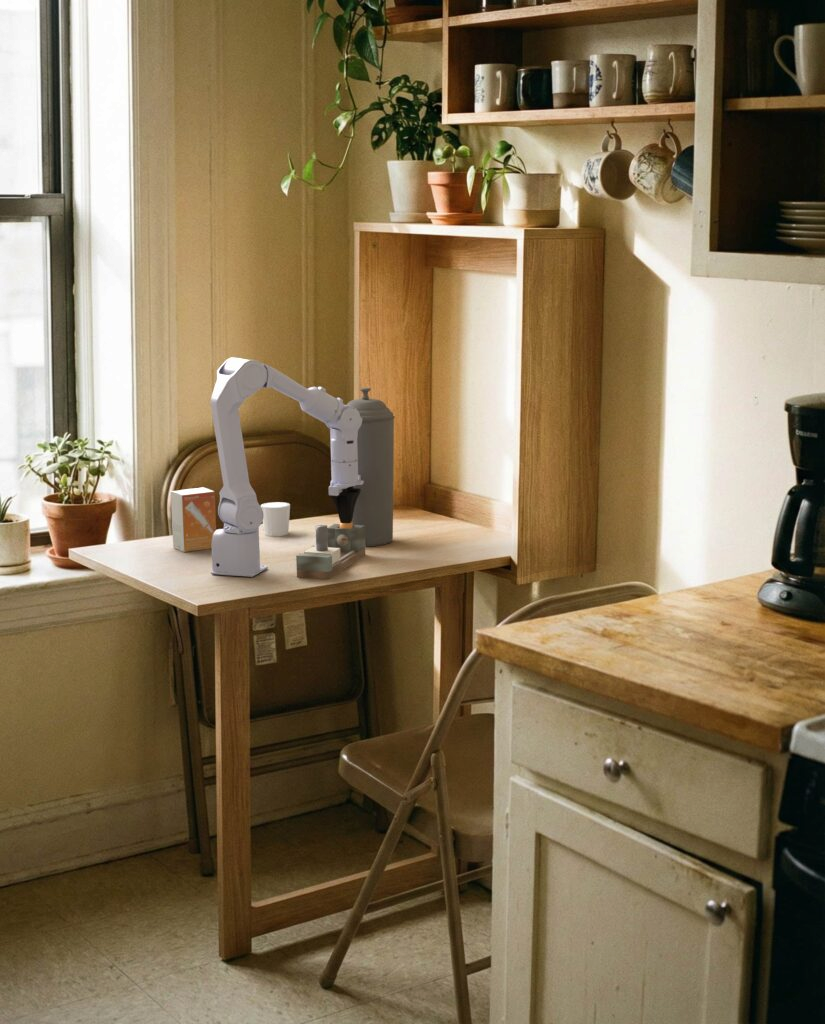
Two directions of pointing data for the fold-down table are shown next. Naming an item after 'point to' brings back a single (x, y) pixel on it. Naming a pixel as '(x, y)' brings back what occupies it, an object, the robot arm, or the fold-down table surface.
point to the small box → (193, 518)
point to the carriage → (323, 545)
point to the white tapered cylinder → (276, 518)
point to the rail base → (322, 565)
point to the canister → (375, 470)
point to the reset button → (346, 525)
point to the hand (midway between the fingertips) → (346, 522)
